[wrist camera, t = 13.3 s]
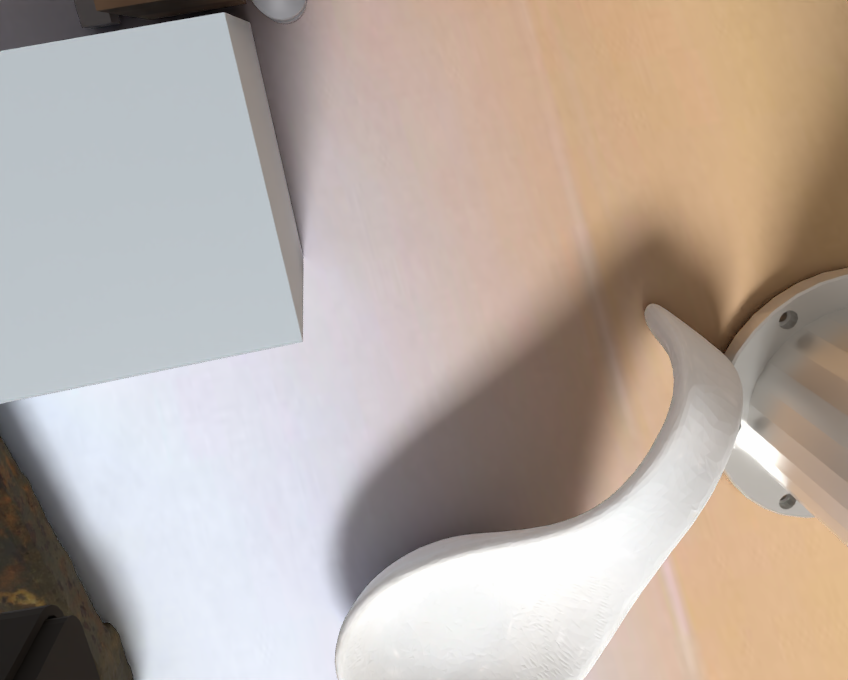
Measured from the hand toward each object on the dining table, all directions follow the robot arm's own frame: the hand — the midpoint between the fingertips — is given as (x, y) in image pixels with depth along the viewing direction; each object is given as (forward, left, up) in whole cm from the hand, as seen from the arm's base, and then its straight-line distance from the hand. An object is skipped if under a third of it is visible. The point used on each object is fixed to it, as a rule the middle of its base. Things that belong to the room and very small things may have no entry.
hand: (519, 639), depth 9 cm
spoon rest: (-5, +16, -26) cm, 31 cm away
